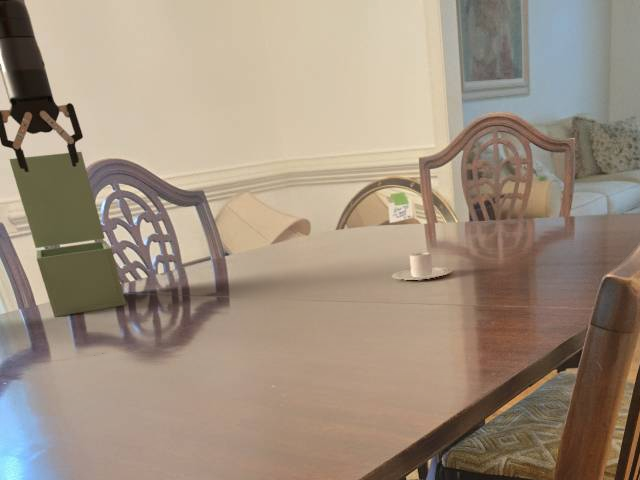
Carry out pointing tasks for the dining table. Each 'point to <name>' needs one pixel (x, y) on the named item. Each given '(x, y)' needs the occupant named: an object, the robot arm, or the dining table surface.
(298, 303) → the dining table surface
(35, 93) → the robot arm
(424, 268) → the candle holder
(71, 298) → the chest
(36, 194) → the lid
